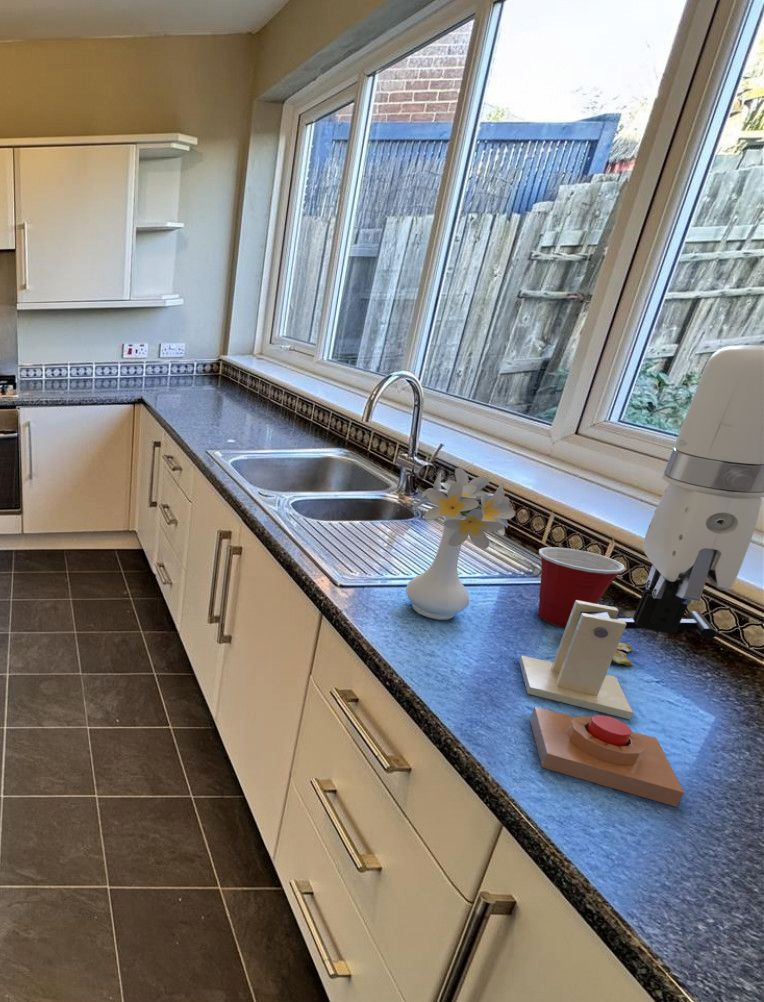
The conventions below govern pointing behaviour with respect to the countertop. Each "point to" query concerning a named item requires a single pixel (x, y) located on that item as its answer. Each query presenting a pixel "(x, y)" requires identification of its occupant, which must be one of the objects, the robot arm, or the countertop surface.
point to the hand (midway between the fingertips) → (652, 627)
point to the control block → (604, 757)
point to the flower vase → (456, 540)
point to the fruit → (622, 654)
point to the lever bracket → (582, 664)
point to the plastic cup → (572, 581)
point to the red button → (609, 730)
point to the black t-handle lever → (692, 623)
